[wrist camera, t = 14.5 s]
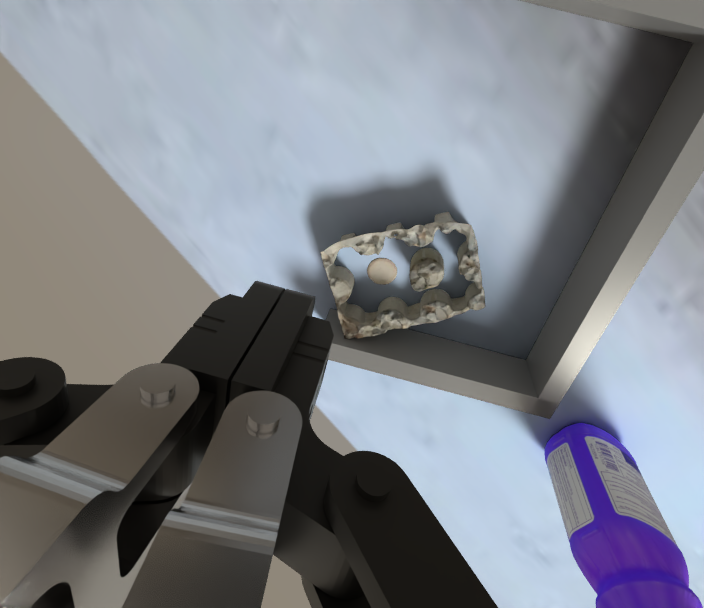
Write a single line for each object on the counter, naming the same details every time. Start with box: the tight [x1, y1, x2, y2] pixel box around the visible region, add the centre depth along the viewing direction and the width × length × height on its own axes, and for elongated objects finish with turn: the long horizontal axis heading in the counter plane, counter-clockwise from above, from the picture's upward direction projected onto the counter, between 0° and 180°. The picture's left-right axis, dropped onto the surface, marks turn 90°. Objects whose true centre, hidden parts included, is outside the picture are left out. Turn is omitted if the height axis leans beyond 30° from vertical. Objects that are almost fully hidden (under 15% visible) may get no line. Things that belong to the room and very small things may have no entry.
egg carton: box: [321, 212, 485, 339], centre depth 31 cm, size 11×8×4 cm
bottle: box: [545, 423, 703, 608], centre depth 30 cm, size 7×6×17 cm
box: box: [326, 0, 704, 419], centre depth 27 cm, size 25×18×4 cm
